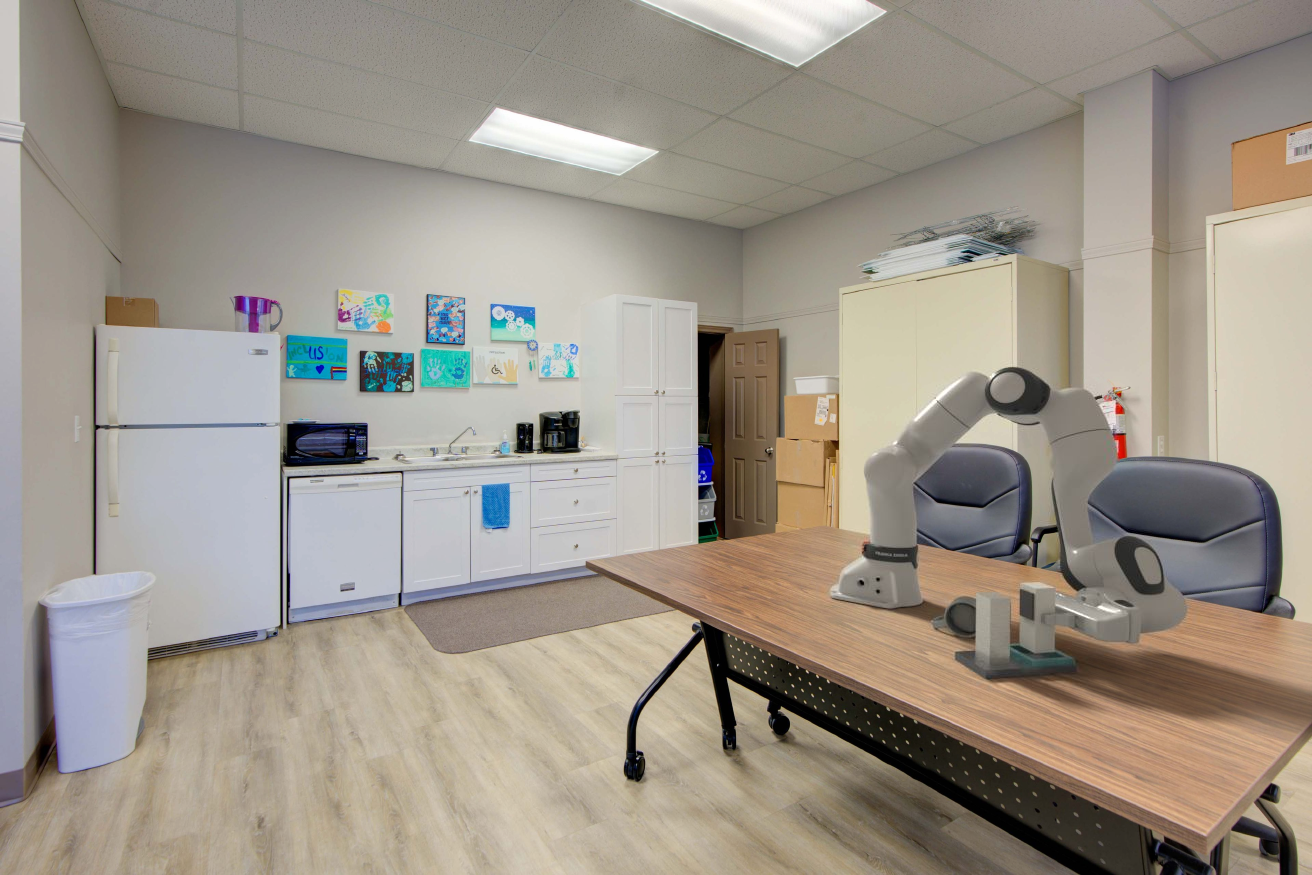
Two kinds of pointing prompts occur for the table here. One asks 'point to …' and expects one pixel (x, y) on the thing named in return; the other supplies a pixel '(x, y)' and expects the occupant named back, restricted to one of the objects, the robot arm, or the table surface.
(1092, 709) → the table surface
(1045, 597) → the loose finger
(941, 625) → the ceramic mug
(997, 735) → the table surface
